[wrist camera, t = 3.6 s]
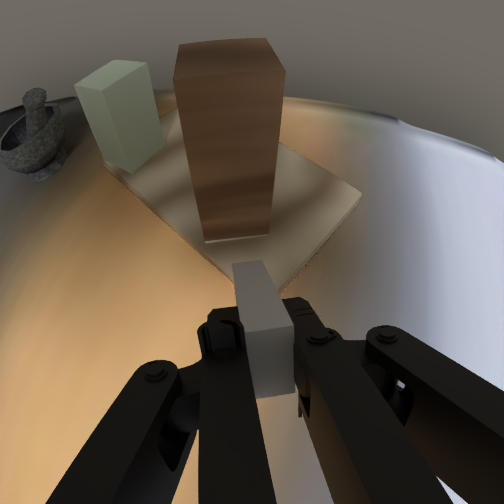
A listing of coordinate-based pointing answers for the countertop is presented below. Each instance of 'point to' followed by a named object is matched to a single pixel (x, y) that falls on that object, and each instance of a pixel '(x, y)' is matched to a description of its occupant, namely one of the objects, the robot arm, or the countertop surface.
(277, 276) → the maple board
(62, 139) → the mortar and pestle
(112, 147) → the sage-green block
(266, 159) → the walnut block
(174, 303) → the countertop surface
